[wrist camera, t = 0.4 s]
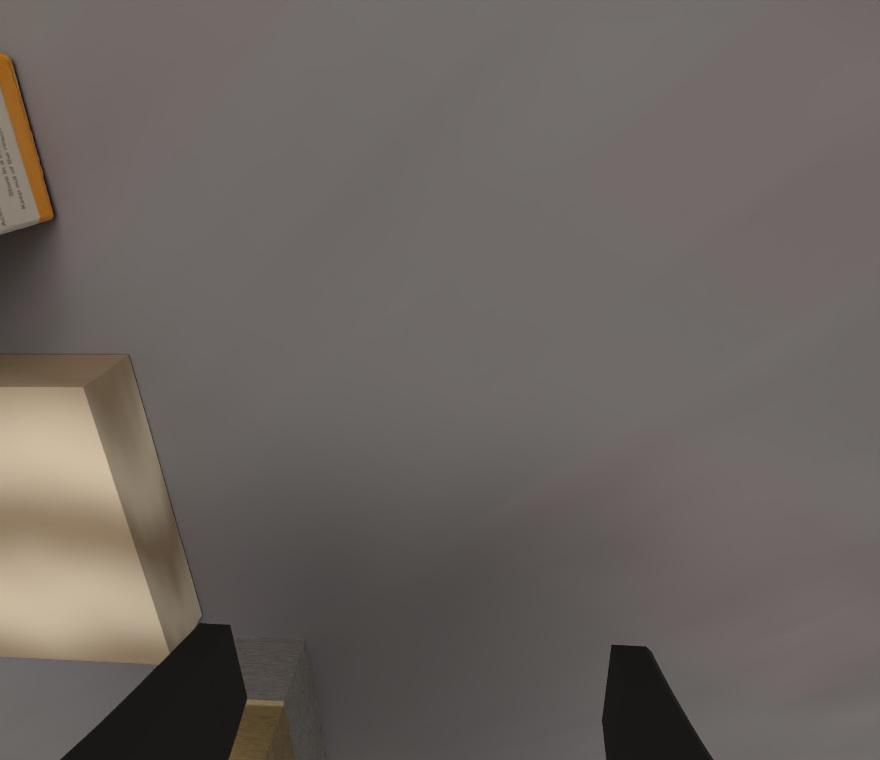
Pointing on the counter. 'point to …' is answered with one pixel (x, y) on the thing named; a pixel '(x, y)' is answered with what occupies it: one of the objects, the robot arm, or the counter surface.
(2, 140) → the supplement box
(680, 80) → the counter surface
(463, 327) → the counter surface
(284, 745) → the block
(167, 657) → the robot arm
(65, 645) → the stand
